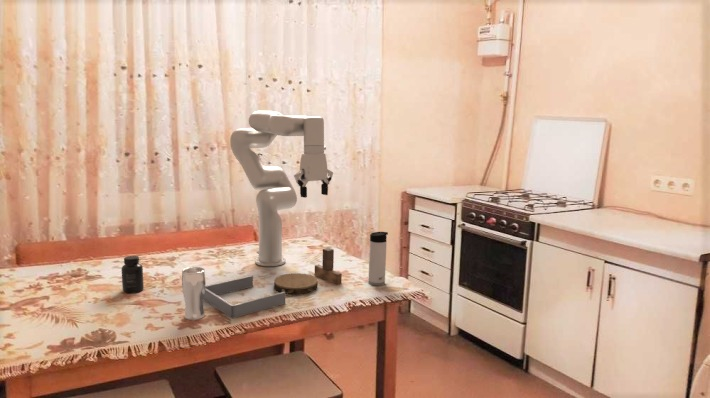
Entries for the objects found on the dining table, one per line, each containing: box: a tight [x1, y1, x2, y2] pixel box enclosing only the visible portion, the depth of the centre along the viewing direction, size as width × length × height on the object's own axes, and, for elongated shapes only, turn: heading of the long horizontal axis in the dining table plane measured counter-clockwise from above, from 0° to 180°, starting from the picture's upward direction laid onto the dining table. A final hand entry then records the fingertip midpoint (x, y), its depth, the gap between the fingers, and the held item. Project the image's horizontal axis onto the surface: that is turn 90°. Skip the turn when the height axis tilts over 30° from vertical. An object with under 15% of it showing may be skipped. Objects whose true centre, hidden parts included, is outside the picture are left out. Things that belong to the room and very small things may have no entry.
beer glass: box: [181, 266, 206, 321], centre depth 159 cm, size 7×7×15 cm
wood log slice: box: [273, 272, 319, 296], centre depth 188 cm, size 16×16×3 cm
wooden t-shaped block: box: [314, 247, 343, 286], centre depth 197 cm, size 14×3×12 cm, turn 42°
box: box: [203, 275, 286, 319], centre depth 174 cm, size 22×20×4 cm
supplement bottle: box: [121, 255, 145, 294], centre depth 180 cm, size 7×7×12 cm
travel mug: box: [367, 231, 389, 287], centre depth 194 cm, size 6×7×20 cm
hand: (314, 195), depth 193 cm, fingers open, 9 cm apart
